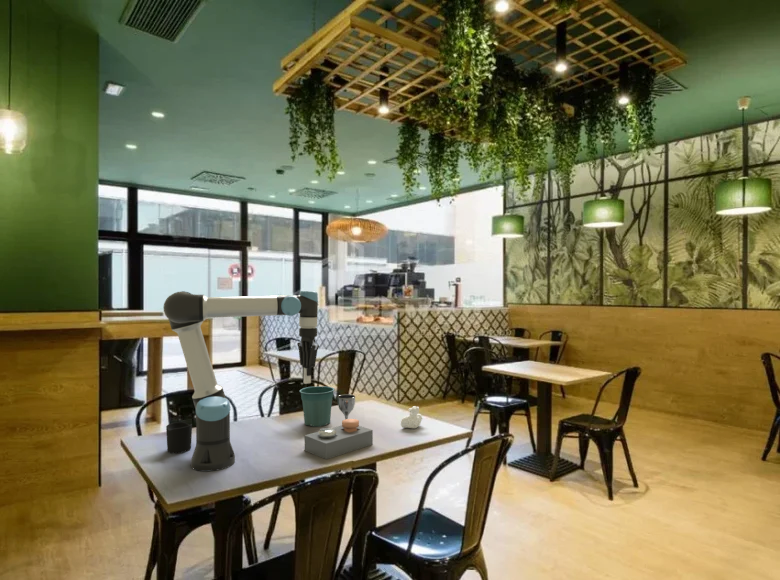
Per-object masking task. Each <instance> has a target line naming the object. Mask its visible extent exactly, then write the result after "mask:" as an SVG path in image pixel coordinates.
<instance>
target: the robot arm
mask: <svg viewBox="0 0 780 580" xmlns="http://www.w3.org/2000/svg"><path fill="white" fill-rule="evenodd" d="M318 295H319V294H318V292H317V290H301V291H299V294H298V295H297V294H296V295H295V294H294V295H289V294H288V295H286V294H277V295H276V294H275V295H274V294H273V295H264V296H262V295H261V296H258V295H255V296H212V297H211V296H210V297H209V296H206V295H205V294H193V293H191V292H189V291H185V290H184V291H183V290H181V291H177V292H174V293H172V294H170V295H168V296H167V298H166V299H165V301H164V303H163V312H164V315H165V317H166V318H167V319H168V322H169V325H170V328H171V331H172V332H175V333H176V334H177V336H178V340H179V344H180V347H181V349H182V353H183V357H184V359H185V363H186V366H187V370H188V373H189V377H190V380H191V383H192V387H193V389H194V392H193V394H192V396H191V398H192V401H193V405H194V408H195V415H196V416H195V417H196V419H195V426H196V428H195V430H196V431H195V433H196V436H195V437H196V438H195V439H196V441H195V443H196V444H195V448H194V450H193V454H192V457H191V460H190V463H191V464H190V468H191V469H193V468H194V469H193V470H195V469H197V470H196V471H199V470H213V471H218V470H217V469H219V470H223V469H226V468H228V466H229V467H230V465H231V466H232V465H234V464H235V463H236V455H235V451H234V449H233V446H232V443H231V404H230V400H229V399H228V398H226V395H225V391H224V389H223V388H224V386H221V385H220V384H218V382H217V379H216V374H215V372H214V368H213V365H212V362H211V359H210V358H211V357H210V354H209V350H208V348H207V345H206V341H205V338H204V334H203V331H202V328H201V326H202V324H203V323H204V321H206V319H211V318H212V319H213V318H236V317H237V318H239V317H243V318H244V317H261V316H262V317H264V316H265V317H268V316H272V317H273V316H288V317H291V316H295V315H297V314H299V317H298V318H299V322H298V323H299V324H298V325H299V328H298V330H299V332H298V336H299V337H301V339H300V342H297V343H296V344H297V347H298V354H299V356H298V357H299V365H300V366H302V369H303V372H302V373H303V382H302V383H303V384H306V385H307V384H311V383H312V369H313V367H315V366H316V361H317V355H318V350H319V349H320V345H319V344H316V337H317V336H318V328H317V327H318V314H319V313H318V308H319V307H318V306H319V297H318ZM225 467H226V468H225ZM222 468H223V469H222Z"/></svg>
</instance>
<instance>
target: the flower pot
mask: <svg viewBox="0 0 780 580" xmlns="http://www.w3.org/2000/svg"><path fill="white" fill-rule="evenodd" d="M334 391H335V388H334V387H332V386H325V385H324V386H322V385H321V386H320V385H317V386H308V387H303V388H301V389H300V390H299V393H300V396H301V397H300V398H301V401H302V411H303V421H304V425H306V426H309V427H310V426H311V427H318V428H319V427H324V426H327V425H329V424H330V423H331V418H332V417H331V415H332V401H333V398H334Z"/></svg>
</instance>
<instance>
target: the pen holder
mask: <svg viewBox="0 0 780 580" xmlns="http://www.w3.org/2000/svg"><path fill="white" fill-rule="evenodd" d="M165 428H166V431H165V432H166V448H167V452H168V453H169V452H170V454H180V453H181V452H182V453H185V452H188V451H190V450H191V448H192V435H193V431H192V429H193V423H187V422H185V421H175V422H172V423H168V424H166V426H165Z"/></svg>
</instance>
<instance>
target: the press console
mask: <svg viewBox="0 0 780 580" xmlns="http://www.w3.org/2000/svg"><path fill="white" fill-rule="evenodd" d="M332 428H333V429H336V436H335V437H333V438H329V439H324V438H320V437H319V436H318V431H317V432H313V433H308V434H305V435H304V451H305V452H308V453H310V454H313V455H314V456H317V457H319V458H322V459H323V460H328V459H333V458H335V457H337V456H341V455H344V454H348V453H350V452H354V451H356V450H360V449H363V448H366V447H369V446H372V445H374V444H373V443H374V442H373V441H374V439H373V438H374V437H373V436H374V435H373V433H374V432H373V429H371V428H367V427H365V426H362V425H359V427H357V431H353V432H350V433H349V432H346V431H344V428H343V427H342V424H341V425H338V426H334V427H332Z"/></svg>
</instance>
